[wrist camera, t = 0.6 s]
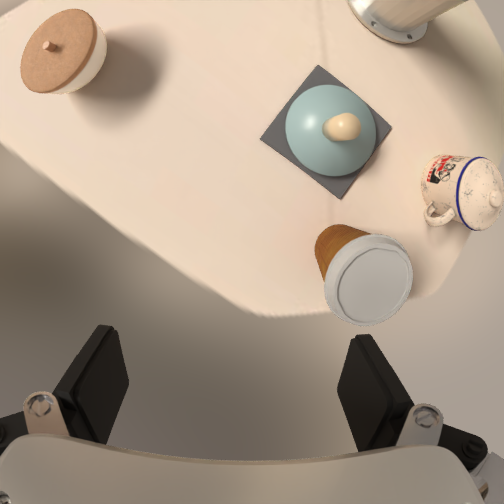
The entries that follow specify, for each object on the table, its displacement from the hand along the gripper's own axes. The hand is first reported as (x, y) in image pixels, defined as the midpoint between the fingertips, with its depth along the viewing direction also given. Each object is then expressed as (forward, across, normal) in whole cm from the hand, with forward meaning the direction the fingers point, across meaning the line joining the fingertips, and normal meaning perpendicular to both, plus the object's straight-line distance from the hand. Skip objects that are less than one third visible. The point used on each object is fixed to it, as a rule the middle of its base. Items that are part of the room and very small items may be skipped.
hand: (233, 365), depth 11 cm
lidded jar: (+26, +22, -21) cm, 40 cm away
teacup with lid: (+27, -27, -6) cm, 39 cm away
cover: (+26, -10, -11) cm, 30 cm away
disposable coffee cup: (+26, -13, +3) cm, 30 cm away
